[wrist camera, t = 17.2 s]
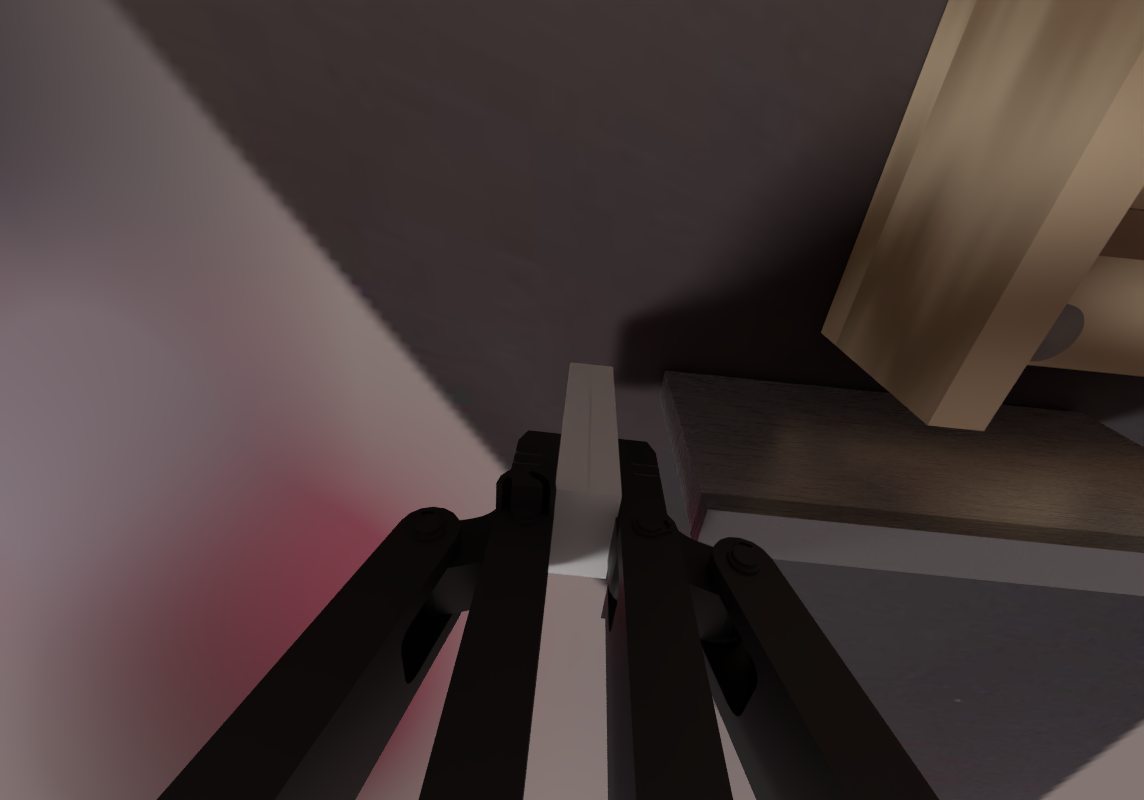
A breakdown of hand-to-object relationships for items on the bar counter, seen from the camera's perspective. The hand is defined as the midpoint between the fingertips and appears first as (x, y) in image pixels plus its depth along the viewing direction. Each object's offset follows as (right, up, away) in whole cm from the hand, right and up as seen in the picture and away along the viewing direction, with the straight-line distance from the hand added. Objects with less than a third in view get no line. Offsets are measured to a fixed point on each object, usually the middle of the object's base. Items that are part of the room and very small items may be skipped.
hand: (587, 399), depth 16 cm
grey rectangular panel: (+11, 0, +2) cm, 11 cm away
